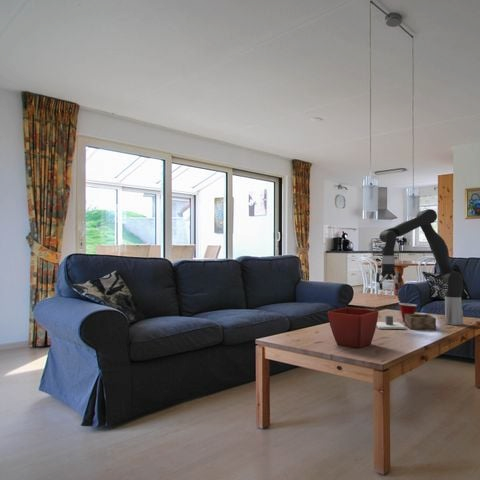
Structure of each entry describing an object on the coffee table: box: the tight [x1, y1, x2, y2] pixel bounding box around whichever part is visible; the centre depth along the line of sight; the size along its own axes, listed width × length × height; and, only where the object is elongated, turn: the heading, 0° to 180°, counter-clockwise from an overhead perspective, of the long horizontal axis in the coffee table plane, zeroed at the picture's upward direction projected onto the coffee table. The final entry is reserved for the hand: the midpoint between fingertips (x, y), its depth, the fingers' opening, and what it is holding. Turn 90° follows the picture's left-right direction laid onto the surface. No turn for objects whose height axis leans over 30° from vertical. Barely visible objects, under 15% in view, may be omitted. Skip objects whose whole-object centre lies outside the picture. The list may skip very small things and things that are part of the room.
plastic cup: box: [398, 302, 418, 323], centre depth 270 cm, size 11×11×12 cm
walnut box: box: [404, 313, 437, 331], centre depth 252 cm, size 14×14×7 cm
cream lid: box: [376, 315, 406, 330], centre depth 254 cm, size 15×15×7 cm
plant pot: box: [327, 307, 379, 349], centre depth 211 cm, size 19×19×17 cm
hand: (388, 289), depth 255 cm, fingers open, 8 cm apart
